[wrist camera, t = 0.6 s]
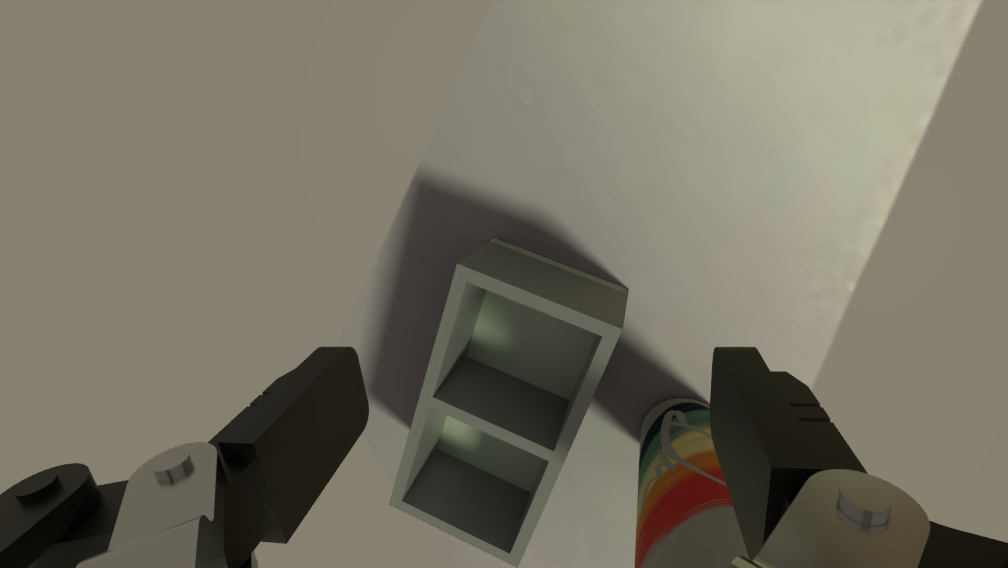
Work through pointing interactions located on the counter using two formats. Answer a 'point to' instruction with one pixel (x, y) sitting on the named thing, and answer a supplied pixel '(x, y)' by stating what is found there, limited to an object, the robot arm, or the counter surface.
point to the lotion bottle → (683, 492)
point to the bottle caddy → (505, 394)
